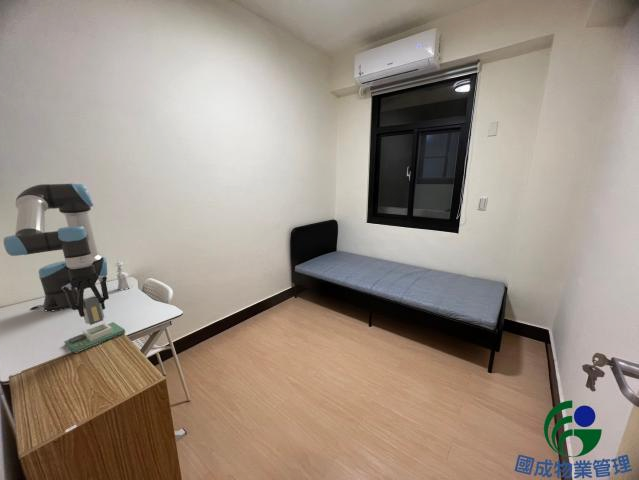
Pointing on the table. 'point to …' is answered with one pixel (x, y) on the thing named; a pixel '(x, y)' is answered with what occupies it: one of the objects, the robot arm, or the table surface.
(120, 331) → the board
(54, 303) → the robot arm
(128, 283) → the figurine
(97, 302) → the plug
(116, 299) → the table surface
